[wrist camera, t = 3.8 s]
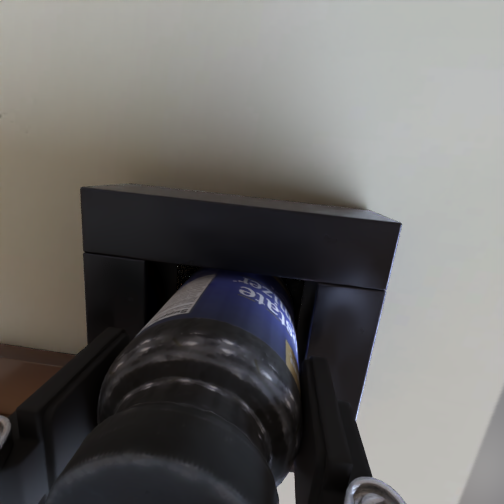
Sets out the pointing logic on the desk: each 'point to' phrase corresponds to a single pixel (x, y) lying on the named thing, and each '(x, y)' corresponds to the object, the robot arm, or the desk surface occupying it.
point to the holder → (241, 263)
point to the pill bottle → (197, 402)
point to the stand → (25, 373)
